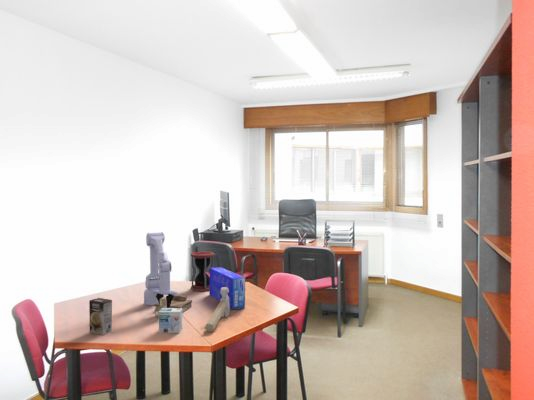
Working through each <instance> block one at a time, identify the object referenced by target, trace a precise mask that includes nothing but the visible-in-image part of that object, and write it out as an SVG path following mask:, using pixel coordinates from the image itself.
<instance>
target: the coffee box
mask: <svg viewBox="0 0 534 400" xmlns="http://www.w3.org/2000/svg"><path fill="white" fill-rule="evenodd" d="M88 304H89V333H90V334H96V335H100V336H104V335H106V334H110V333H111V332H112V331H113V300H112V299H108V298H102V297H97V298H92V299H90V300H89V302H88Z"/></svg>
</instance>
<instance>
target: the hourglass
mask: <svg viewBox="0 0 534 400" xmlns="http://www.w3.org/2000/svg"><path fill="white" fill-rule="evenodd" d="M214 256H215V253H214V252H213V251H195V252H191V253H190V257H191V268H192V270H193V274H192V275H191V286H190V290H192V291H194V292H209V288H210V275H209V274H208V273H207V268H208V267H209V266H210V267H209V271H208V272H209V273H210V268H214V267H213V266H214ZM194 264H195V266H196V267H197V268H198V269H199V273H198V274H197V275H196V273H197V271H196V268H195V267H194ZM210 264H211V265H210ZM195 275H196V277H195ZM194 277H195V278H194Z"/></svg>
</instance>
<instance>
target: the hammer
mask: <svg viewBox="0 0 534 400" xmlns="http://www.w3.org/2000/svg"><path fill="white" fill-rule="evenodd" d="M228 292H229V290H228V288H227V287H222V288H221V291H220V293H221V295H222V298H221V300H220V301H219V303H218V305H217V306H216V308H215V309H214V311H213V312H212V314H211V316H210V318H209V319H208V321H206V323H205V326H204V328H205V330H206V332H207V333H213V332H214V330H215V329H216V327H217V325H218V323H219V321H220V320H221V317H222V318H224V317H225V318H229V316H230V310H231V308H230V307H229V296H228Z"/></svg>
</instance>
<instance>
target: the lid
mask: <svg viewBox="0 0 534 400" xmlns="http://www.w3.org/2000/svg"><path fill="white" fill-rule="evenodd" d="M191 302H192V303H193V300H191V299H187V296H186V295H178V294H177V296H174V297H173V299H172V301H171V305H170V308H183V307H184V306H186V305H188V304H190V303H191ZM155 306H159V307H160V305H159V302H158V303H156V304H155V305H154V307H155Z"/></svg>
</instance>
